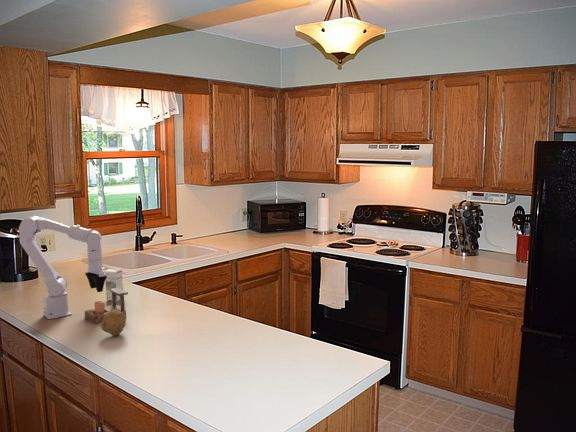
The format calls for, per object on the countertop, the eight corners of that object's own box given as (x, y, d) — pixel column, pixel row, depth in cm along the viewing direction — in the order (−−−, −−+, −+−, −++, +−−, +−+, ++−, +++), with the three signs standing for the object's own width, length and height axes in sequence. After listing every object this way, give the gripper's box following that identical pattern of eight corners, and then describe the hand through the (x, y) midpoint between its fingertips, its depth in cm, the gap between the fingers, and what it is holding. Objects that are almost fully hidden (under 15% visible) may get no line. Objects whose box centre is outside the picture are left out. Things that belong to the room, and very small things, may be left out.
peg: (106, 318, 218) (106, 302, 217) (97, 320, 216) (96, 304, 215) (103, 316, 221) (102, 300, 220) (94, 318, 219) (93, 302, 218)
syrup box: (124, 298, 248) (122, 268, 246) (116, 301, 242) (115, 271, 240) (113, 297, 249) (112, 267, 247) (106, 300, 243) (104, 270, 242)
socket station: (94, 324, 212) (92, 299, 210) (84, 317, 220) (83, 293, 218) (129, 316, 221) (128, 292, 220) (119, 310, 229) (118, 287, 228)
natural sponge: (100, 341, 193) (99, 315, 192) (102, 332, 202) (101, 308, 200) (126, 338, 196) (125, 312, 194) (127, 330, 204) (125, 305, 203)
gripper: (110, 260, 221) (112, 291, 223) (97, 255, 232) (99, 284, 234) (93, 263, 217) (95, 294, 219) (81, 257, 228) (83, 287, 230)
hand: (96, 289), depth 226 cm, fingers open, 7 cm apart
